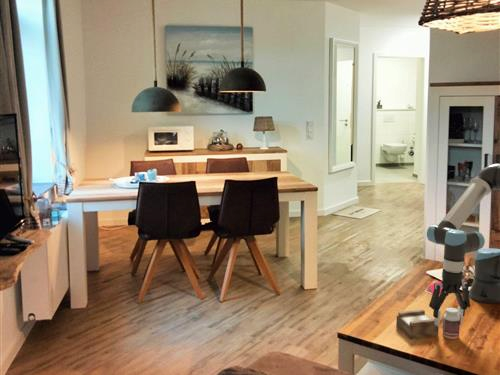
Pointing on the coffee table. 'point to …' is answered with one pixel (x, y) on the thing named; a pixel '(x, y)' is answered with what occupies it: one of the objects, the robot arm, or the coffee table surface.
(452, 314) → the pill bottle
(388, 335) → the coffee table surface
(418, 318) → the brown square open box
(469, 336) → the coffee table surface
